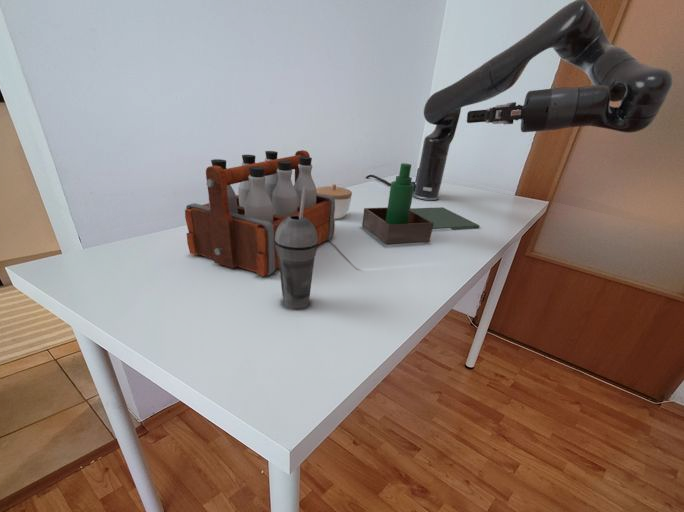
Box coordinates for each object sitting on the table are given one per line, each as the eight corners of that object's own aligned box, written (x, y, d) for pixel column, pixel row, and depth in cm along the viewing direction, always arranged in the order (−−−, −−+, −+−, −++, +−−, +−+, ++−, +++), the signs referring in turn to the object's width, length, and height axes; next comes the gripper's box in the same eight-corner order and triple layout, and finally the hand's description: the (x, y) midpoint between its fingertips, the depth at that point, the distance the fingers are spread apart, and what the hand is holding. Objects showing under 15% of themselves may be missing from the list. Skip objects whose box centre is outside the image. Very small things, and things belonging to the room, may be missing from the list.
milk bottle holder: (338, 236, 98) (345, 155, 86) (259, 283, 72) (253, 177, 60) (274, 220, 105) (272, 144, 93) (180, 257, 79) (162, 159, 68)
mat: (397, 211, 122) (397, 208, 121) (442, 209, 127) (443, 207, 127) (429, 230, 107) (430, 228, 106) (478, 228, 113) (479, 225, 112)
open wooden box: (361, 227, 105) (364, 208, 102) (401, 225, 109) (405, 206, 106) (385, 246, 94) (388, 225, 90) (429, 243, 98) (433, 223, 94)
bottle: (380, 230, 102) (390, 161, 92) (398, 229, 104) (410, 162, 94) (390, 237, 98) (401, 166, 87) (409, 236, 100) (422, 166, 89)
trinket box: (332, 210, 117) (334, 179, 111) (356, 219, 111) (360, 186, 105) (307, 215, 111) (308, 182, 105) (331, 225, 105) (333, 190, 99)
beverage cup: (276, 293, 69) (273, 180, 57) (315, 294, 70) (319, 182, 58) (275, 312, 63) (271, 191, 51) (316, 313, 64) (322, 193, 52)
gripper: (547, 90, 80) (469, 98, 85) (558, 85, 69) (468, 95, 74) (539, 130, 84) (466, 135, 89) (549, 131, 73) (464, 137, 78)
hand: (467, 117), depth 82 cm, fingers open, 8 cm apart
